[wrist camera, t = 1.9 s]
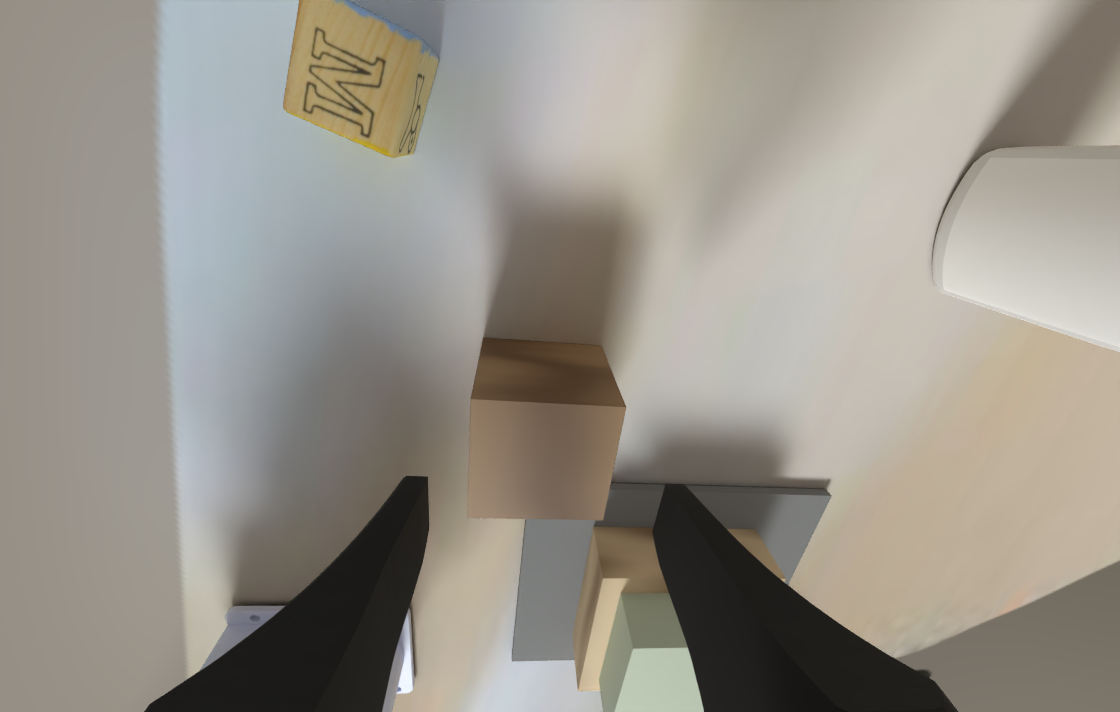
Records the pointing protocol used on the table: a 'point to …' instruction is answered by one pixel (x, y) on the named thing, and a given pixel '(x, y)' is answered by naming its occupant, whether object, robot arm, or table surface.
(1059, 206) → the eye dropper bottle
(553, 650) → the mat
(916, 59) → the table surface
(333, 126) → the alphabet block
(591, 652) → the tower base
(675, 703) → the tower top
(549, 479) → the walnut cube
